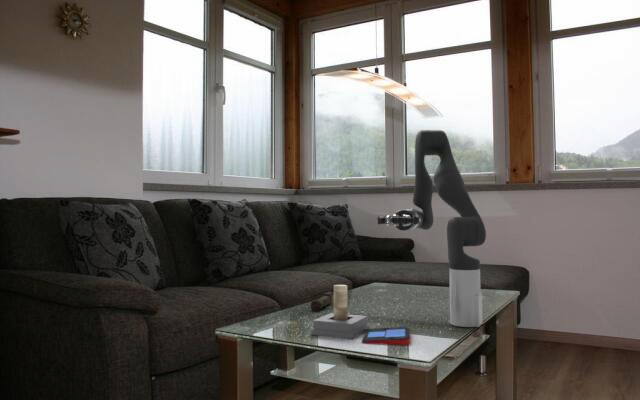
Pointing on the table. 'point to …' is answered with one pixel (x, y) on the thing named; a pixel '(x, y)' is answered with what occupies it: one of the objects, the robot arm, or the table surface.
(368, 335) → the game console
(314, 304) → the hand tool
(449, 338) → the table surface
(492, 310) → the table surface
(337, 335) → the tool holder
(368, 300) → the table surface
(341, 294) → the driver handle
